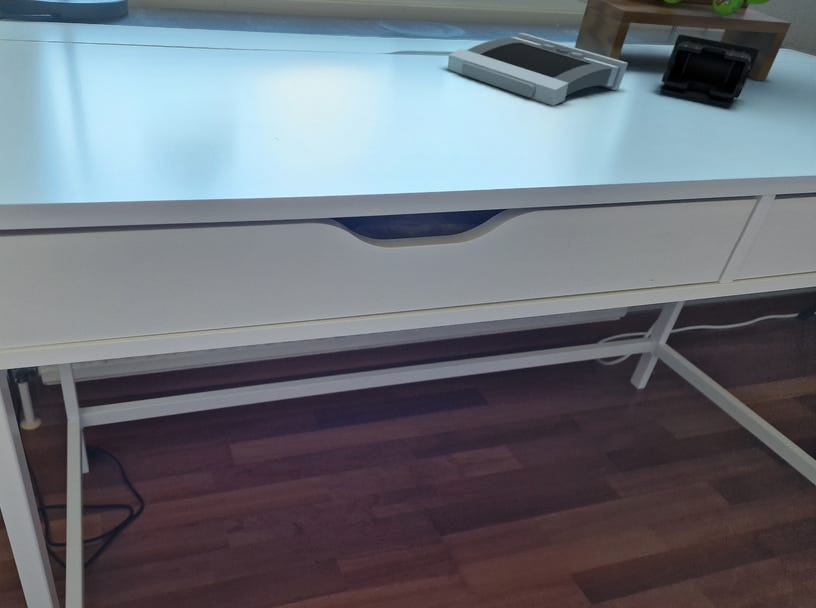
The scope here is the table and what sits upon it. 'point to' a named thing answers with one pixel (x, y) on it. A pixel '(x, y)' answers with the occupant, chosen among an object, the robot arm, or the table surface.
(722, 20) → the shoe shelf
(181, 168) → the table surface
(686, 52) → the end cap
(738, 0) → the toy crocodile
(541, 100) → the alarm clock
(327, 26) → the table surface
